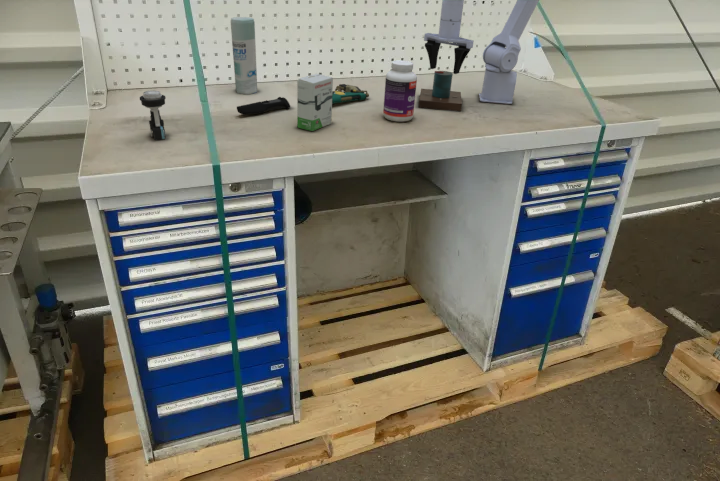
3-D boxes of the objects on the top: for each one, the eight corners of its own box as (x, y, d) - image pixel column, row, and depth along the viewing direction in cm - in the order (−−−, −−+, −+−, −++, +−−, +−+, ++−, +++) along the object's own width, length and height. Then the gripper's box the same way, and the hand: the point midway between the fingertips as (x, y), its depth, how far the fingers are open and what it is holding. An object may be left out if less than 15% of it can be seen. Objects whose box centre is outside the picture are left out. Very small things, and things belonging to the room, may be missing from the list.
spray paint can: (262, 91, 156) (259, 19, 146) (247, 95, 152) (242, 21, 141) (246, 87, 159) (241, 16, 149) (230, 91, 155) (225, 18, 144)
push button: (143, 132, 122) (135, 89, 116) (166, 129, 124) (160, 87, 119) (148, 141, 117) (141, 97, 112) (173, 138, 119) (167, 94, 114)
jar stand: (420, 95, 160) (421, 87, 159) (459, 99, 159) (460, 91, 158) (418, 107, 149) (419, 99, 148) (460, 111, 148) (462, 103, 147)
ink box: (312, 132, 127) (312, 82, 121) (296, 127, 130) (295, 79, 123) (332, 123, 134) (333, 75, 128) (317, 119, 136) (317, 72, 130)
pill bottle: (411, 124, 136) (416, 67, 129) (380, 121, 137) (384, 64, 130) (414, 115, 143) (420, 60, 136) (385, 112, 144) (389, 58, 137)
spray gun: (353, 92, 162) (376, 108, 151) (303, 93, 155) (322, 109, 144) (355, 78, 160) (378, 93, 149) (304, 78, 153) (324, 94, 142)
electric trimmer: (234, 116, 136) (233, 104, 134) (283, 105, 145) (282, 94, 143) (242, 120, 133) (241, 107, 132) (291, 109, 143) (291, 97, 141)
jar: (449, 93, 155) (452, 70, 152) (450, 98, 151) (453, 74, 147) (431, 92, 156) (434, 69, 152) (431, 97, 151) (434, 73, 148)
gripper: (420, 17, 144) (415, 68, 151) (467, 24, 137) (460, 77, 144) (433, 15, 149) (428, 64, 156) (479, 22, 141) (472, 73, 148)
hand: (444, 70), depth 150 cm, fingers open, 7 cm apart
